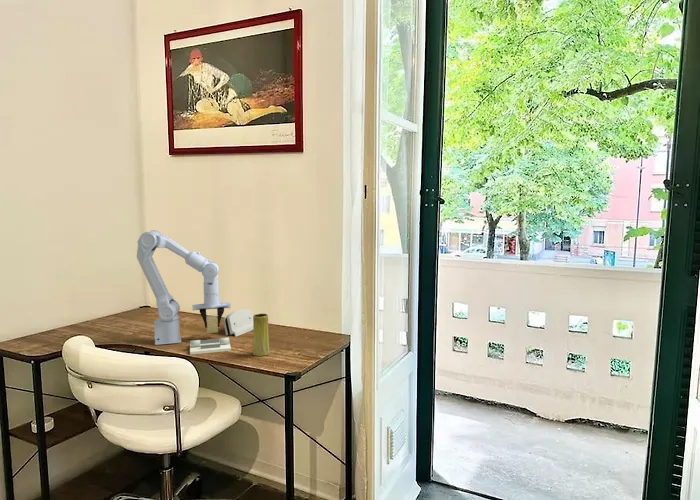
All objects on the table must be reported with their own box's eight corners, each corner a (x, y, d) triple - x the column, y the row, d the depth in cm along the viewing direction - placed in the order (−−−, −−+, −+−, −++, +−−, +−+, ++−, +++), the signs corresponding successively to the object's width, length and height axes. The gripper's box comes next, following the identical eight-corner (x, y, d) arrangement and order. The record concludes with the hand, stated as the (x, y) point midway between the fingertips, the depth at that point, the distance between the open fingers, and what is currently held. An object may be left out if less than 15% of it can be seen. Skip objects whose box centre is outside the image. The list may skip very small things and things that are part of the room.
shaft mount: (190, 354, 179) (189, 345, 179) (190, 345, 190) (189, 336, 190) (231, 350, 183) (230, 341, 183) (228, 341, 195) (228, 333, 194)
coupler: (217, 332, 195) (217, 318, 195) (207, 333, 194) (206, 319, 193) (217, 328, 200) (216, 315, 200) (206, 329, 199) (206, 316, 199)
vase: (270, 351, 183) (270, 313, 181) (268, 356, 177) (268, 317, 175) (254, 351, 183) (253, 313, 181) (251, 356, 177) (250, 317, 175)
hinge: (235, 336, 202) (228, 313, 202) (226, 339, 204) (219, 316, 204) (259, 327, 217) (252, 305, 217) (251, 329, 219) (244, 307, 219)
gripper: (192, 296, 190) (193, 330, 191) (230, 294, 194) (231, 328, 196) (191, 292, 196) (193, 326, 198) (229, 290, 201) (230, 323, 202)
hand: (212, 327), depth 197 cm, fingers closed on coupler, 4 cm apart
